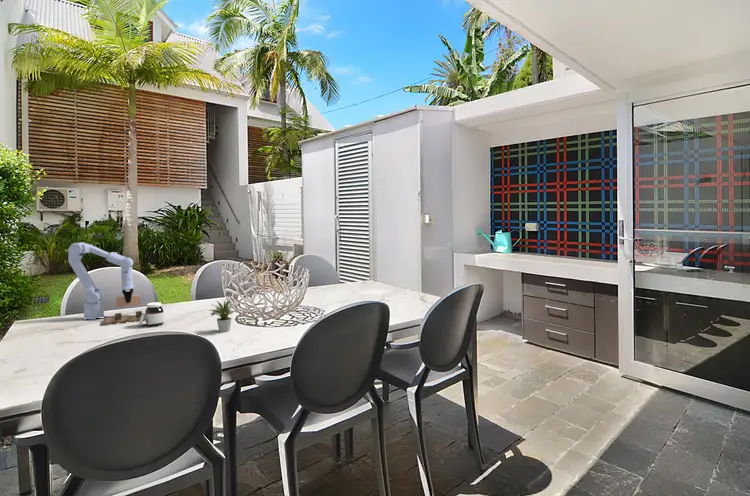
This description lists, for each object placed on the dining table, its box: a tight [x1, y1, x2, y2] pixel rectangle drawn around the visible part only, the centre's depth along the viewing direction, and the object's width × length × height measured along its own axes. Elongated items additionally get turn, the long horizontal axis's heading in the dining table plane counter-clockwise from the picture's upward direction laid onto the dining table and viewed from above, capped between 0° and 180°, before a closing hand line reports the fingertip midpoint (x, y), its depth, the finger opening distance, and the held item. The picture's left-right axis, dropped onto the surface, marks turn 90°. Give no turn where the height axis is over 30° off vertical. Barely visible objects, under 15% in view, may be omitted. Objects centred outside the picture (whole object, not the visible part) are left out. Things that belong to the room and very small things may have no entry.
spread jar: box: [137, 301, 165, 327], centre depth 225 cm, size 12×11×12 cm
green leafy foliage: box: [214, 297, 235, 315], centre depth 268 cm, size 34×5×10 cm
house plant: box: [208, 300, 234, 333], centre depth 215 cm, size 14×14×16 cm
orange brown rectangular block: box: [115, 294, 142, 308], centre depth 246 cm, size 12×3×6 cm, turn 120°
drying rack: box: [102, 310, 146, 326], centre depth 236 cm, size 24×12×4 cm, turn 120°
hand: (128, 302), depth 246 cm, fingers closed on orange brown rectangular block, 3 cm apart
